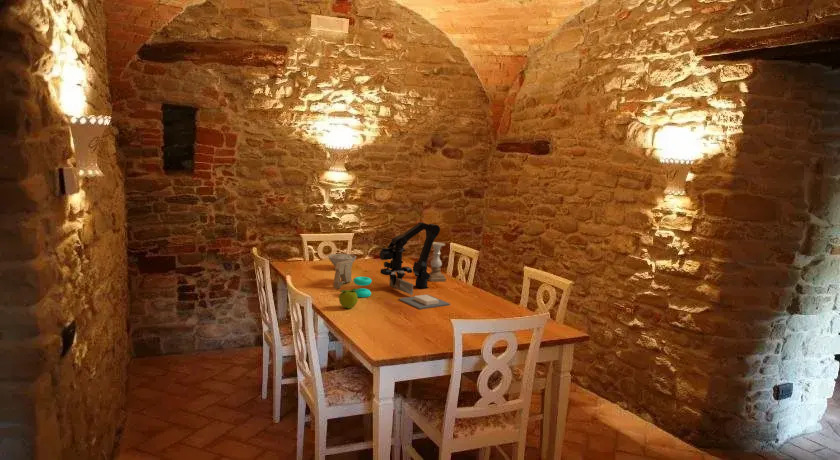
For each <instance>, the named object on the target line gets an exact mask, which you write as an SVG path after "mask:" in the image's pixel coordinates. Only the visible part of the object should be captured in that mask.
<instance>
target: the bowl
mask: <svg viewBox="0 0 840 460" xmlns="http://www.w3.org/2000/svg"><path fill="white" fill-rule="evenodd" d="M327 257H328V259H329V261H330V263H332V265H333V266H335V267H336V264H337V263H338V262H343V261H347V260H353V261H352V264H353V263H354V262H355V261H356V259H357V256H356V255H355V254H350V253H333V254H332V253H331V254H328V256H327Z"/></svg>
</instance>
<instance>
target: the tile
mask: <svg viewBox="0 0 840 460" xmlns="http://www.w3.org/2000/svg"><path fill="white" fill-rule="evenodd" d="M428 295H429V294H420V295H414V296H413V297H414V300H416V301H418V302H420V303H423V304H425V305H432V304H439V300H438V299H439V298H438V299H436V298H437V297H435V298H433V297H434V296H433V297H431V296H432V295H430V296H428Z"/></svg>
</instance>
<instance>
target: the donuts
mask: <svg viewBox="0 0 840 460" xmlns="http://www.w3.org/2000/svg"><path fill="white" fill-rule="evenodd" d="M372 281H373V280H372V279H371V278H370V277H368V276H355V278H353V284H355V285H357V286H361V287H362V288H361V287H360V288H359V287H358V288H356V289H357V290H354V291H355V292H356V294H357V298H369V297H370V296H372V292H371V290H370V289H368V288H365V287H364V286H369V285H371V283H372ZM363 287H364V288H363Z"/></svg>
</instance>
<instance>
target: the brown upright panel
mask: <svg viewBox="0 0 840 460" xmlns="http://www.w3.org/2000/svg"><path fill="white" fill-rule="evenodd" d="M388 285H389V287H391V288H392V289H393V288H394V289H396V290H397V291H401V292H403V293H405V294H408V295H410V296H413V293H414V284H413V283H410V282H409V281H406V280H404V279H403V278H402V279H400V278H398V277H397V276H396V281H395V285H393V283H392V280H391V277H390V276H389V284H388Z"/></svg>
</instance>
